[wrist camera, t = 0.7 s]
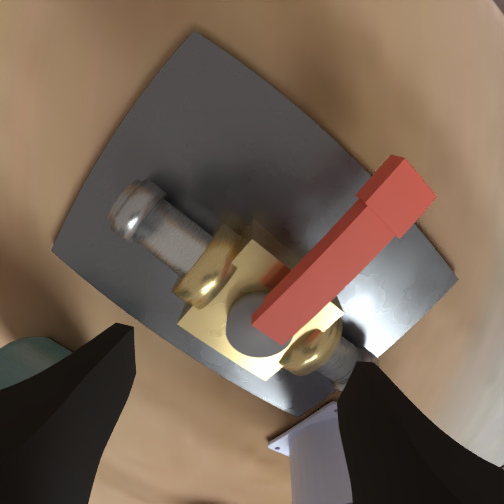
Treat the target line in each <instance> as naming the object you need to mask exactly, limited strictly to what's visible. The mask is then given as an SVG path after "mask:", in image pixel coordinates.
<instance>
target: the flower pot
mask: <svg viewBox="0 0 504 504" xmlns="http://www.w3.org/2000/svg"><path fill="white" fill-rule="evenodd" d="M71 353H73V352H71V351H69V350H68V349H66V348H64V347H63V346H61V345H59V344H57V343H56V342H54V341H52V340H51V339H49V338H47V337H28V338H22V339H18V340H15V341H13V342H10V343H8V344H7V345H5V346H3V347H2V348H0V390H1V389H4V388H6V387H9V386H12V385H14V384H17V383H19V382H21V381H23V380H25V379H28V378H30V377H32V376H34V375H36V374H38V373H40V372H42V371H43V370H45V369H47V368H49V367H50V366H52V365H54V364H55V363H57V362H59V361H60V360H62V359H64V358H65V357H67V356H68V355H70V354H71Z"/></svg>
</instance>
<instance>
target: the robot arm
mask: <svg viewBox="0 0 504 504" xmlns="http://www.w3.org/2000/svg"><path fill="white" fill-rule="evenodd" d="M135 375H136V364H135V346H134V327H132V326H128V325H124V324H120V323H115V324H114V325H112V326H111V327H109V328H108V329H106V330H105V331H103V332H102V333H100V334H99V335H98V336H96V337H95V338H93V339H92V340H91V341H89V342H88V343H86V344H85V345H83V346H82V347H80V348H79V349H77V350H76V351H74V352H73V353H71V354H70V355H68V356H67V357H65V358H64V359H62V360H60V361H59V362H57V363H55V364H54V365H52V366H50V367H49V368H47V369H45V370H43V371H42V372H40V373H38V374H36V375H34V376H32V377H30V378H28V379H25V380H23V381H21V382H19V383H17V384H14V385H12V386H9V387H6V388H4V389H1V390H0V504H88V502H89V498H90V494H91V490H92V486H93V482H94V479H95V475H96V472H97V468H98V465H99V462H100V459H101V456H102V454H103V451H104V449H105V446H106V444H107V442H108V440H109V438H110V436H111V433H112V431H113V429H114V427H115V425H116V423H117V421H118V419H119V416H120V414H121V412H122V410H123V408H124V406H125V404H126V401H127V399H128V397H129V394H130V391H131V388H132V385H133V381H134V378H135ZM268 448H270V449H272V450H275V451H277V452H279V453H282V454H284V455H287V456H289V459H290V475H291V491H292V504H504V469H502V468H500V467H498V466H496V465H494V464H492V463H490V462H488V461H486V460H484V459H482V458H480V457H479V456H477V455H476V454H474V453H472V452H471V451H469V450H468V449H466V448H464V447H463V446H462V445H460V444H459V443H457V442H456V441H455V440H453V439H452V438H451V437H450V436H448V435H447V434H446V433H444V432H443V431H442V430H441V429H440V428H438V427H437V426H436V425H435V424H434V423H433V422H432V421H431V420H430V419H428V418H427V417H426V416H425V415H424V414H423V413H422V412H421V411H420V410H419V409H418V408H417V407H416V406H415V405H414V404H413V403H412V402H411V401H410V400H409V399H408V398H407V397H406V396H405V395H404V394H403V392H402V391H401V390H400V389H399V388H398V387H397V386H396V385H395V384H394V383H393V382H392V381H391V380H390V379H389V377H388V376H387V375H386V374H385V373H384V372H383V371H382V370H381V369H380V368H379V367H378V366H377V365H376V364H375V363H374V362H364V361H357V362H356V364H355V366H354V369H353V371H352V373H351V375H350V377H349V379H348V381H347V383H346V385H345V387H344V389H343V391H342V393H341V395H340V397H339V399H338V401H337V402H335V401H333V402H330V403H328V404H327V405H325V406H324V407H322V408H321V409H319V410H318V411H317V412H315V413H314V414H312V415H311V416H309V417H308V418H306V419H305V420H303V421H302V422H300V423H299V424H297V425H296V426H294V427H292V428H291V429H289V430H288V431H286V432H285V433H283V434H281V435H280V436H278V437H276V438H275V439H273V440H271V441H270V442H268Z"/></svg>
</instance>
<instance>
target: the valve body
mask: <svg viewBox="0 0 504 504" xmlns="http://www.w3.org/2000/svg"><path fill="white" fill-rule="evenodd" d="M371 177H372V176H371V175H370V174H369V173H368V172H367V171H366V170H365V169H364V168H363V167H362V166H361V165H360V164H359V163H358V162H357V161H356V160H355V159H354V158H353V157H352V156H351V155H350V154H349V153H348V152H347V151H346V150H345V149H344V148H343V147H341V146H340V145H339V144H338V143H337V142H336V141H335V140H334V139H333V138H332V137H331V136H330V135H329V134H328V133H326V132H325V131H324V130H323V129H322V128H321V127H320V126H319V125H318V124H317V123H315V122H314V121H313V120H312V119H311V118H310V117H309V116H307V115H306V114H305V113H304V112H303V111H302V110H300V109H299V108H298V107H297V106H296V105H295V104H293V103H292V102H291V101H290V100H289V99H287V98H286V97H285V96H284V95H283V94H281V93H280V92H279V91H278V90H276V89H275V88H274V87H273V86H271V85H270V84H269V83H268V82H266V81H265V80H264V79H262V78H261V77H260V76H258V75H257V74H256V73H255V72H253V71H252V70H251V69H249V68H248V67H246V66H245V65H244V64H242V63H241V62H240V61H238V60H237V59H236V58H234V57H233V56H231V55H230V54H228V53H227V52H226V51H224V50H223V49H221V48H220V47H218V46H217V45H215V44H214V43H212V42H211V41H209V40H208V39H206V38H205V37H203V36H202V35H200V34H199V33H197V32H196V31H193V32H192V34H191V35H190V36H189V37H188V38H187V39H186V40H185V41H184V42H183V44H182V45H181V46H180V47H179V48H178V49H177V50H176V52H175V53H174V54H173V55H172V56H171V58H170V59H169V60H168V61H167V62H166V64H165V65H164V66H163V67H162V69H161V70H160V71H159V72H158V74H157V75H156V76H155V77H154V79H153V80H152V81H151V83H150V84H149V85H148V86H147V88H146V89H145V90H144V92H143V93H142V94H141V96H140V97H139V99H138V100H137V101H136V103H135V104H134V105H133V107H132V108H131V110H130V111H129V113H128V114H127V115H126V117H125V118H124V120H123V121H122V123H121V124H120V126H119V127H118V129H117V130H116V132H115V133H114V135H113V136H112V138H111V140H110V141H109V143H108V144H107V146H106V147H105V149H104V151H103V152H102V154H101V156H100V157H99V159H98V161H97V162H96V164H95V166H94V167H93V169H92V171H91V173H90V174H89V176H88V178H87V180H86V181H85V183H84V185H83V187H82V189H81V191H80V192H79V194H78V196H77V198H76V200H75V202H74V204H73V206H72V208H71V210H70V212H69V214H68V216H67V218H66V220H65V222H64V224H63V226H62V228H61V230H60V232H59V234H58V237H57V239H56V241H55V243H54V245H53V248H52V250H51V251H52V252H53V253H54V254H55V255H56V256H58V257H59V258H60V259H61V260H62V261H63V262H65V263H66V264H67V265H68V266H69V267H70V268H72V269H73V270H74V271H75V272H76V273H77V274H79V275H80V276H81V277H82V278H83V279H85V280H86V281H87V282H88V283H90V284H91V285H92V286H93V287H95V288H96V289H97V290H98V291H100V292H101V293H102V294H103V295H105V296H106V297H107V298H109V299H110V300H111V301H112V302H114V303H115V304H116V305H118V306H119V307H120V308H122V309H123V310H124V311H126V312H127V313H128V314H130V315H131V316H132V317H134V318H135V319H137V320H138V321H139V322H141V323H142V324H143V325H145V326H146V327H148V328H149V329H150V330H152V331H153V332H155V333H156V334H158V335H159V336H161V337H162V338H163V339H165V340H166V341H168V342H169V343H171V344H172V345H174V346H175V347H177V348H178V349H180V350H181V351H183V352H184V353H186V354H187V355H189V356H191V357H192V358H194V359H195V360H197V361H198V362H200V363H202V364H203V365H205V366H206V367H208V368H210V369H211V370H213V371H214V372H216V373H218V374H219V375H221V376H223V377H224V378H226V379H228V380H229V381H231V382H233V383H235V384H236V385H238V386H240V387H241V388H243V389H245V390H247V391H249V392H250V393H252V394H254V395H256V396H257V397H259V398H261V399H263V400H265V401H267V402H268V403H270V404H272V405H274V406H276V407H278V408H280V409H282V410H284V411H286V412H288V413H289V414H291V415H293V416H295V417H297V418H298V417H299V416H301V415H302V414H304V413H305V412H307V411H308V410H310V409H311V408H313V407H314V406H315V405H317V404H318V403H320V402H321V401H322V400H324V399H325V398H327V397H328V396H329V395H331V394H332V393H333V392H335V391H336V390H337V389H338V390H340V391H341V392H342V391H343V389H344V387H345V385H346V383H347V381H348V379H349V377H350V375H351V373H352V371H353V369H354V366H355V364H356V362H357V361H364V362H374V363H375V364H376V365H377V366H378V367H379V361H378V357H379V356H380V355H381V354H382V353H383V352H385V351H386V350H387V349H388V348H389V347H390V346H391V345H393V344H394V343H395V342H396V341H397V340H398V339H399V338H400V337H401V336H403V335H404V334H405V333H406V332H407V331H408V330H409V329H410V328H411V327H412V326H413V325H414V324H415V323H417V322H418V321H419V320H420V319H421V318H422V317H423V316H424V315H425V314H426V313H427V312H428V311H429V310H430V309H431V308H432V307H433V306H434V305H435V304H436V303H437V302H438V301H439V300H440V299H441V298H442V297H443V296H444V295H445V294H446V292H447V291H448V290H449V289H450V288H451V287H452V286H453V285H454V284H455V283H456V282H457V281H458V280H459V279H458V278H457V277H456V275H455V274H454V273H453V271H452V270H451V269H450V267H449V266H448V265H447V263H446V262H445V261H444V259H443V258H442V257H441V255H440V254H439V253H438V252H437V250H436V249H435V248H434V247H433V245H432V244H431V243H430V242H429V240H428V239H427V238H426V237H425V236H424V234H423V233H422V232H421V231H420V230H419V228H418V227H417V226H416V225H415V224H413V225H412V226H411V227H410V228H409V229H408V231H407V232H406V233H405V234H404V235H403V236H402V237H401V238H400V239H399V238H398V237H397V236H395V237H394V238H393V239H392V240H391V241H390V242H389V243H388V244H387V245H386V246H385V247H384V248H383V249H382V251H381V252H380V253H379V254H378V255H377V256H376V257H375V258H374V259H373V260H372V261H371V262H370V263H369V264H368V265H367V266H366V267H365V268H364V269H363V270H362V271H361V272H360V273H359V274H358V275H357V276H356V277H355V278H354V279H353V280H352V281H351V282H350V283H349V284H348V285H347V286H346V287H345V288H344V289H343V290H342V291H341V292H340V293H339V294H338V295H337V296H336V297H335V298H334V299H333V300H332V301H331V302H329V303H328V304H327V305H326V306H325V307H324V308H323V309H322V310H321V311H320V312H319V313H318V314H317V315H316V316H315V317H313V318H312V319H311V320H310V321H309V322H308V323H307V324H306V325H305V326H304V327H303V328H301V329H300V330H299V331H298V332H297V333H296V334H295V335H294V336H293V338H292V340H291V342H290V344H289V345H288V346H287V347H286V348H285V349H284V350H283V351H281V352H280V353H278V354H276V355H273V356H270V357H264V358H255V357H249V356H246V355H244V354H241V353H240V352H238V351H237V350H235V349H234V348H233V347H232V346H231V345H230V343H229V341H228V339H227V337H226V322H227V316H228V312H229V309H230V307H231V306H232V304H233V303H234V302H235V301H236V300H237V299H239V298H240V297H242V296H244V295H246V294H250V293H254V292H265V293H270V292H271V291H272V290H273V289H274V288H275V287H276V286H277V285H278V284H279V283H280V282H281V280H282V279H283V278H284V277H285V276H286V275H287V274H288V273H289V272H290V271H291V270H292V269H293V268H294V267H295V266H296V265H297V264H298V263H299V262H300V261H301V260H302V259H303V258H304V257H305V256H306V255H307V254H308V253H309V252H310V251H311V249H312V248H313V247H314V246H315V245H316V244H317V243H318V242H319V241H320V240H321V239H322V238H323V237H324V236H325V235H326V234H327V233H328V232H329V230H330V229H331V228H332V227H333V226H334V225H335V224H336V223H337V222H338V221H339V220H340V219H341V218H342V217H343V215H344V214H345V213H346V212H347V211H348V210H349V209H350V208H351V207H352V206H353V205H354V204H355V202H356V201H357V200H358V198H357V197H356V196H355V195H356V193H357V192H358V191H359V190H360V189H361V188H362V187H363V186H364V185H365V184H366V182H367V181H368V180H369V179H370V178H371Z"/></svg>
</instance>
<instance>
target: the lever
mask: <svg viewBox="0 0 504 504" xmlns="http://www.w3.org/2000/svg"><path fill="white" fill-rule="evenodd" d="M355 196H356V197H357V198H358V200H357V201H356V202H355V204H354V205H353V206H352V207H351V208H350V209H349V210H348V211H347V212H346V213H345V214H344V215H343V217H342V218H341V219H340V220H339V221H338V222H337V223H336V224H335V225H334V226H333V227H332V228H331V229H330V230H329V232H328V233H327V234H326V235H325V236H324V237H323V238H322V239H321V240H320V241H319V242H318V243H317V244H316V245H315V246H314V247H313V248H312V249H311V251H310V252H309V253H308V254H307V255H306V256H305V257H304V258H303V259H302V260H301V261H300V262H299V263H298V264H297V265H296V266H295V267H294V268H293V269H292V270H291V271H290V272H289V273H288V274H287V275H286V276H285V277H284V278H283V279H282V280H281V282H280V283H279V284H278V285H277V286H276V287H275V288H274V289H273V290H272V291H271V292H270V293H265V292H254V293H250V294H246V295H244V296H242V297H240V298H239V299H237V300H236V301H235V302H234V303H233V304H232V306H231V307H230V309H229V312H228V316H227V322H226V337H227V339H228V341H229V343H230V345H231V346H232V347H233V348H234V349H235V350H237V351H238V352H240V353H241V354H244V355H246V356H249V357H255V358H264V357H270V356H273V355H276V354H278V353H280V352H281V351H283V350H284V349H285V348H286V347H287V346H288V345H289V344H290V342H291V340H292V338H293V336H294V335H295V334H296V333H297V332H298V331H299V330H300V329H301V328H303V327H304V326H305V325H306V324H307V323H308V322H309V321H310V320H311V319H312V318H313V317H315V316H316V315H317V314H318V313H319V312H320V311H321V310H322V309H323V308H324V307H325V306H326V305H327V304H328V303H329V302H331V301H332V300H333V299H334V298H335V297H336V296H337V295H338V294H339V293H340V292H341V291H342V290H343V289H344V288H345V287H346V286H347V285H348V284H349V283H350V282H351V281H352V280H353V279H354V278H355V277H356V276H357V275H358V274H359V273H360V272H361V271H362V270H363V269H364V268H365V267H366V266H367V265H368V264H369V263H370V262H371V261H372V260H373V259H374V258H375V257H376V256H377V255H378V254H379V253H380V252H381V251H382V249H383V248H384V247H385V246H386V245H387V244H388V243H389V242H390V241H391V240H392V239H393V238H394V237H395V236H397V237H398V238H399V239H400V238H401V237H402V236H403V235H404V234H405V233H406V232H407V231H408V229H409V228H410V227H411V226H412V225H413V224H414V223H415V222H416V221H417V219H418V218H419V217H420V216H421V215H422V214H423V213H424V212H425V210H426V209H427V208H428V207H429V206H430V205H431V204H432V202H433V201H434V200H435V199H436V198H437V196H436V195H435V194H434V192H433V191H432V190H431V189H430V187H429V186H428V185H427V184H426V182H425V181H424V180H423V179H422V177H421V176H420V175H419V174H418V173H417V171H416V170H415V169H414V168H413V167H412V165H411V164H410V163H409V162H408V161H407V160H406V158H403V157H399V156H395V155H391V156H390V157H389V158H388V159H387V160H386V161H385V162H384V163H383V165H382V166H381V167H380V168H379V169H378V170H377V171H376V172H375V174H374V175H373V176H372V177H371V178H370V179H369V180H368V181H367V182H366V184H365V185H364V186H363V187H362V188H361V189H360V190H359V191H358V192H357V193H356V195H355Z"/></svg>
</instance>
